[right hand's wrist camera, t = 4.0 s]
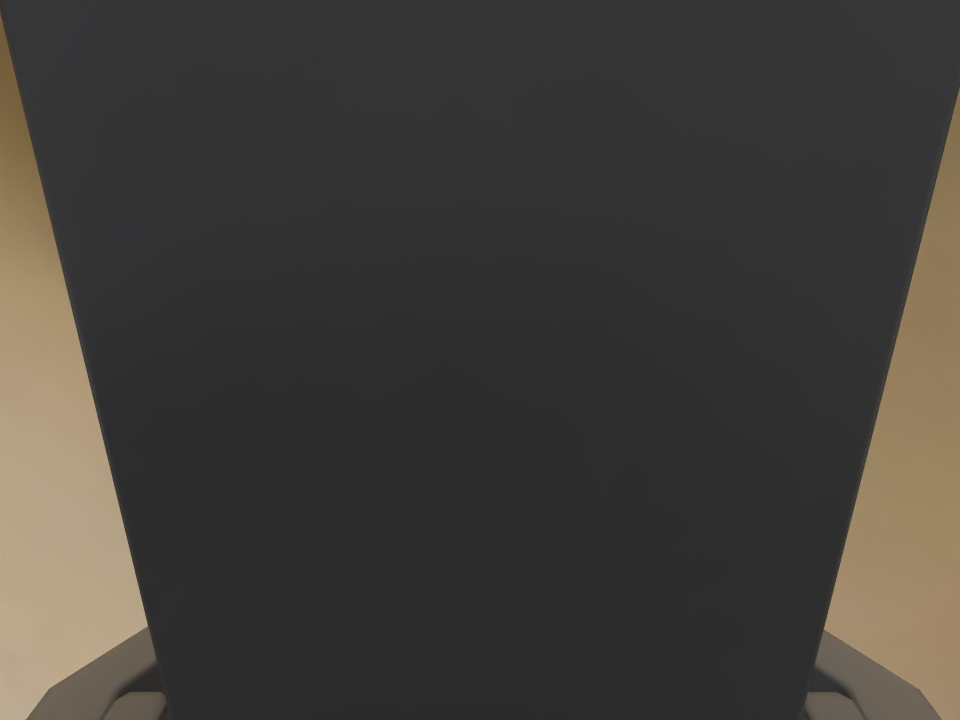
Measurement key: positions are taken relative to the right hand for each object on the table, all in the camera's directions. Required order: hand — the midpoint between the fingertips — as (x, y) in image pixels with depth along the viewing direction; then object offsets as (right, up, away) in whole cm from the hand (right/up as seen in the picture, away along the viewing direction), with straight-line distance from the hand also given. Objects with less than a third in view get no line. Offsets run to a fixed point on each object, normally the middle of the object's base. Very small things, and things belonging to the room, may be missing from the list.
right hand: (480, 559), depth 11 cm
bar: (0, +9, 0) cm, 9 cm away
